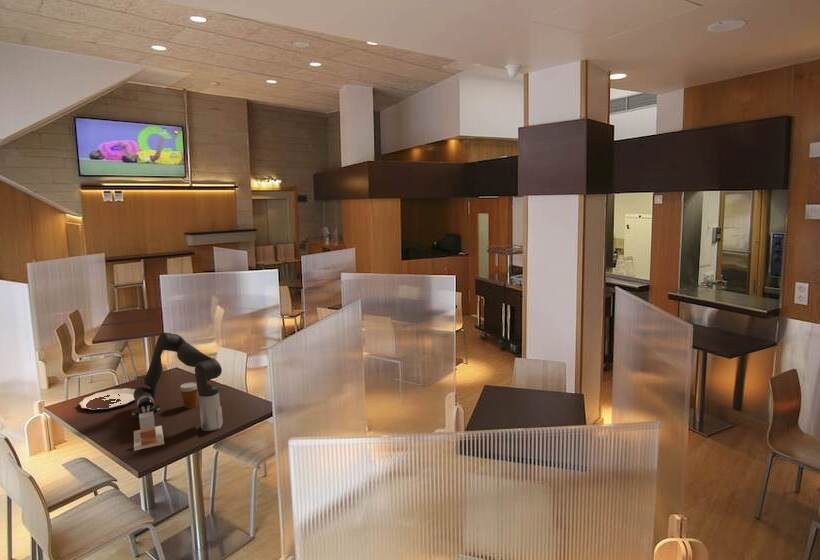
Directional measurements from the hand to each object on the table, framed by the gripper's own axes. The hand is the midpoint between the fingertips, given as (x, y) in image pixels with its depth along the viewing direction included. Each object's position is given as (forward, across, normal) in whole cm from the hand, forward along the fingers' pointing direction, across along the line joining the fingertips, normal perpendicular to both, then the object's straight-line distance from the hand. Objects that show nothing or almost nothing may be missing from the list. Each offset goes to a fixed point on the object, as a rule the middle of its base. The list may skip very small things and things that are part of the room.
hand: (146, 417), depth 245 cm
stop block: (+16, 0, +6) cm, 18 cm away
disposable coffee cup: (-23, +21, +8) cm, 32 cm away
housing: (+10, 0, +8) cm, 12 cm away
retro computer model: (+5, 0, +6) cm, 8 cm away
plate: (-53, -17, +8) cm, 56 cm away
